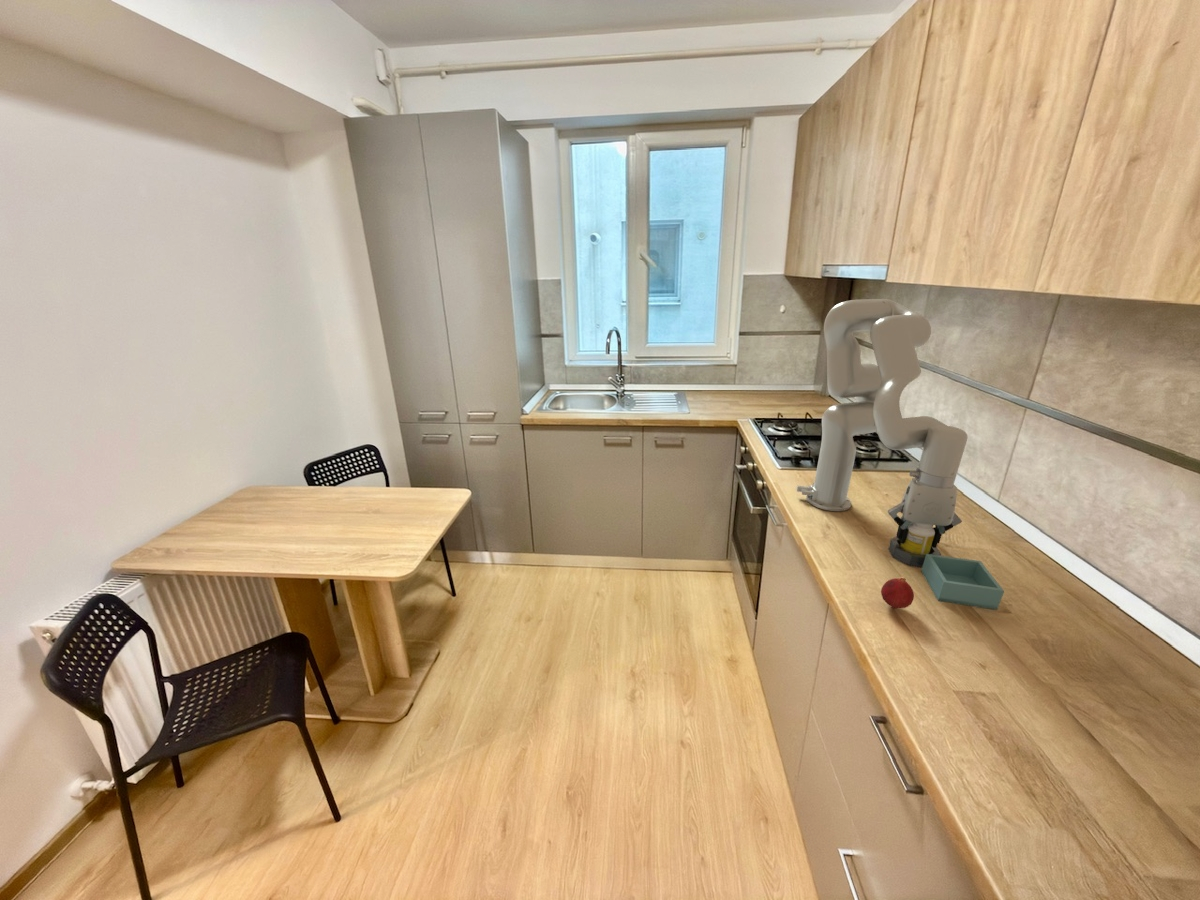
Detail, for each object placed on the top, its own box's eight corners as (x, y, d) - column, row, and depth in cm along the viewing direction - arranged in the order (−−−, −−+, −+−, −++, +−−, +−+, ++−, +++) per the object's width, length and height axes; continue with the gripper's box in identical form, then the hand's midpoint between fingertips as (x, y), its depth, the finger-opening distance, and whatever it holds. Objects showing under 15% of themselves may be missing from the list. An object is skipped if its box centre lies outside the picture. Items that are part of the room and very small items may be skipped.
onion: (880, 612, 99) (888, 582, 96) (876, 596, 104) (884, 566, 101) (911, 619, 97) (921, 588, 94) (906, 602, 102) (915, 572, 99)
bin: (937, 600, 103) (944, 582, 101) (921, 571, 113) (926, 553, 111) (996, 610, 100) (1004, 590, 98) (974, 578, 110) (980, 561, 108)
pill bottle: (918, 549, 121) (929, 512, 117) (932, 564, 115) (944, 525, 111) (893, 548, 122) (903, 511, 117) (905, 562, 116) (916, 524, 112)
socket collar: (896, 564, 115) (898, 554, 114) (885, 542, 124) (887, 532, 123) (942, 570, 113) (945, 560, 111) (928, 548, 122) (931, 538, 120)
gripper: (898, 480, 109) (881, 545, 116) (985, 489, 105) (962, 556, 111) (889, 467, 116) (874, 530, 122) (970, 475, 111) (950, 539, 118)
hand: (916, 542), depth 117 cm, fingers closed on pill bottle, 6 cm apart
